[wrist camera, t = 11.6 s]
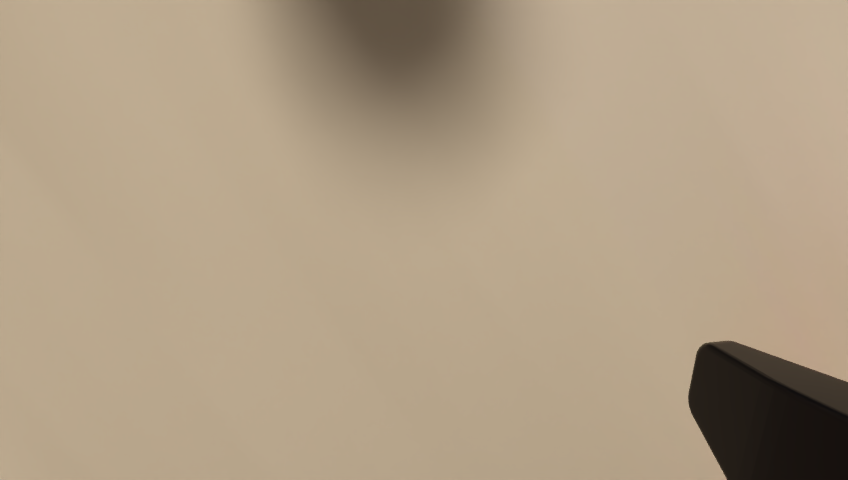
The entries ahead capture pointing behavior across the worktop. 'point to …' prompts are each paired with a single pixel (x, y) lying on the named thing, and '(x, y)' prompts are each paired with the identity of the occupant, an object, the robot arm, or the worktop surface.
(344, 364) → the worktop surface
